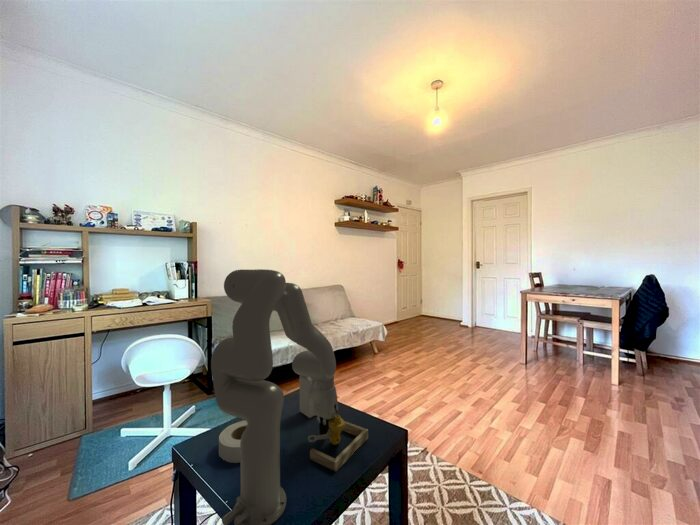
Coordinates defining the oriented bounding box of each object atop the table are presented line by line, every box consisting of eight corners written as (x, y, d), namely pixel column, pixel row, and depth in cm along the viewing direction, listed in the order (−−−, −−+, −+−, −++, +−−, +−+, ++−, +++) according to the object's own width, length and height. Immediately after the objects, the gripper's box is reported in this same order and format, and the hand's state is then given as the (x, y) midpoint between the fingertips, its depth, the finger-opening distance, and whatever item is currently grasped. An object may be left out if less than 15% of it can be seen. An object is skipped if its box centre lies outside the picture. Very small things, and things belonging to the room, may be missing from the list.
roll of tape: (241, 430, 105) (241, 415, 105) (277, 439, 100) (277, 423, 100) (207, 458, 90) (207, 441, 90) (247, 470, 85) (247, 451, 85)
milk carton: (299, 411, 117) (299, 366, 117) (313, 405, 122) (313, 362, 122) (309, 418, 112) (308, 371, 112) (323, 412, 117) (323, 366, 117)
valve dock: (336, 472, 83) (336, 462, 83) (309, 459, 89) (309, 450, 89) (368, 438, 99) (368, 429, 99) (344, 428, 105) (344, 420, 105)
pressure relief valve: (343, 447, 95) (347, 420, 93) (308, 453, 91) (311, 425, 89) (339, 435, 100) (342, 410, 99) (305, 440, 96) (308, 413, 95)
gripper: (299, 381, 99) (301, 432, 100) (334, 391, 91) (335, 446, 92) (313, 373, 106) (314, 421, 106) (346, 382, 98) (347, 434, 98)
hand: (324, 433), depth 99 cm, fingers closed
